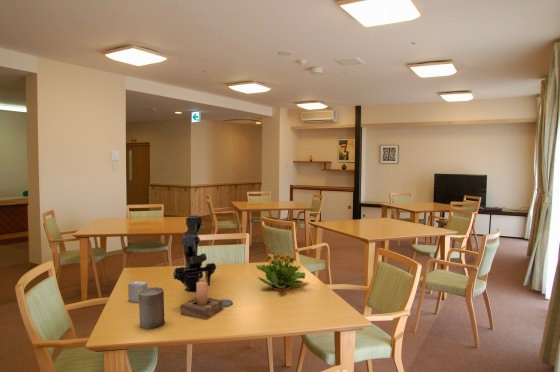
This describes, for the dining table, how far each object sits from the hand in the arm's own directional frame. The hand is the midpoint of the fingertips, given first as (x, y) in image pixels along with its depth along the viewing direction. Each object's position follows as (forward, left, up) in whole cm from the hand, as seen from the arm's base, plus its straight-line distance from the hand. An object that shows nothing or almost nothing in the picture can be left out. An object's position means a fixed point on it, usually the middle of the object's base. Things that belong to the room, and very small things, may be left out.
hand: (199, 287), depth 177 cm
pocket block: (+2, +3, -10) cm, 10 cm away
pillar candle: (+21, -8, -10) cm, 25 cm away
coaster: (-10, +6, -10) cm, 16 cm away
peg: (+2, +3, -10) cm, 10 cm away
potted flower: (-42, +20, -10) cm, 48 cm away
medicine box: (+3, -33, -10) cm, 35 cm away
